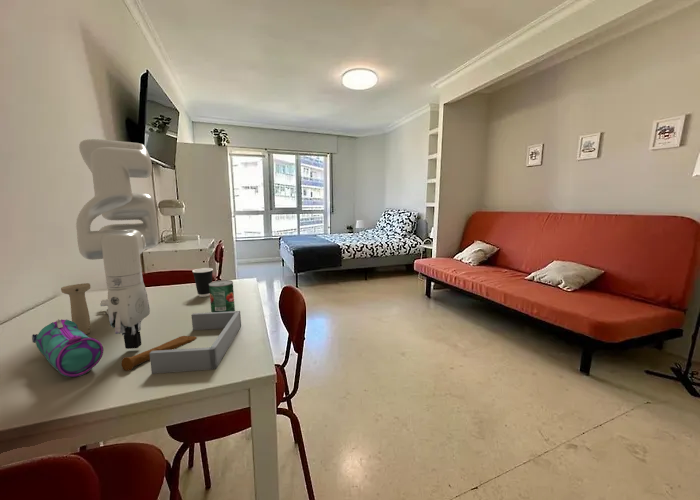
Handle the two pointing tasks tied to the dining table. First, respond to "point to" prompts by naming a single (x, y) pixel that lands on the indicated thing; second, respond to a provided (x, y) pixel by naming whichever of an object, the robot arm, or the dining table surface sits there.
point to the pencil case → (68, 348)
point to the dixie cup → (203, 280)
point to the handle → (79, 305)
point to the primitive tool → (145, 356)
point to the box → (199, 356)
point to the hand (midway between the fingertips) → (133, 346)
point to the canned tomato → (222, 296)
